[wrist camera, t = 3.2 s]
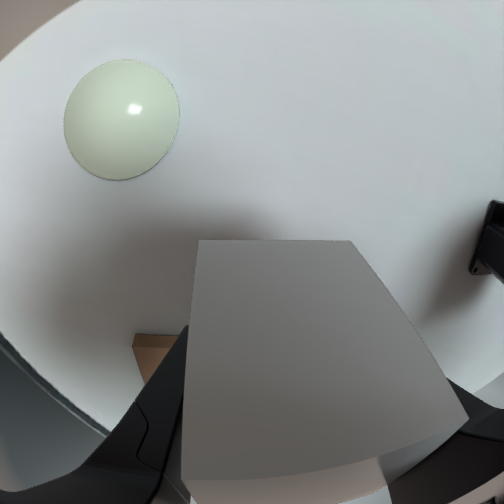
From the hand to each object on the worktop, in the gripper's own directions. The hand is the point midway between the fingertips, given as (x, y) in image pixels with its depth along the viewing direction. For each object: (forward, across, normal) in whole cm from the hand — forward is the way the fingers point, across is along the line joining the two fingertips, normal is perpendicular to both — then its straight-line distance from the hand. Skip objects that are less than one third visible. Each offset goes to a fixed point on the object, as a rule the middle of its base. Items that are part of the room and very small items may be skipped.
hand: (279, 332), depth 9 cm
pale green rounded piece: (+8, +7, -6) cm, 12 cm away
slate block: (+2, 0, 0) cm, 2 cm away
